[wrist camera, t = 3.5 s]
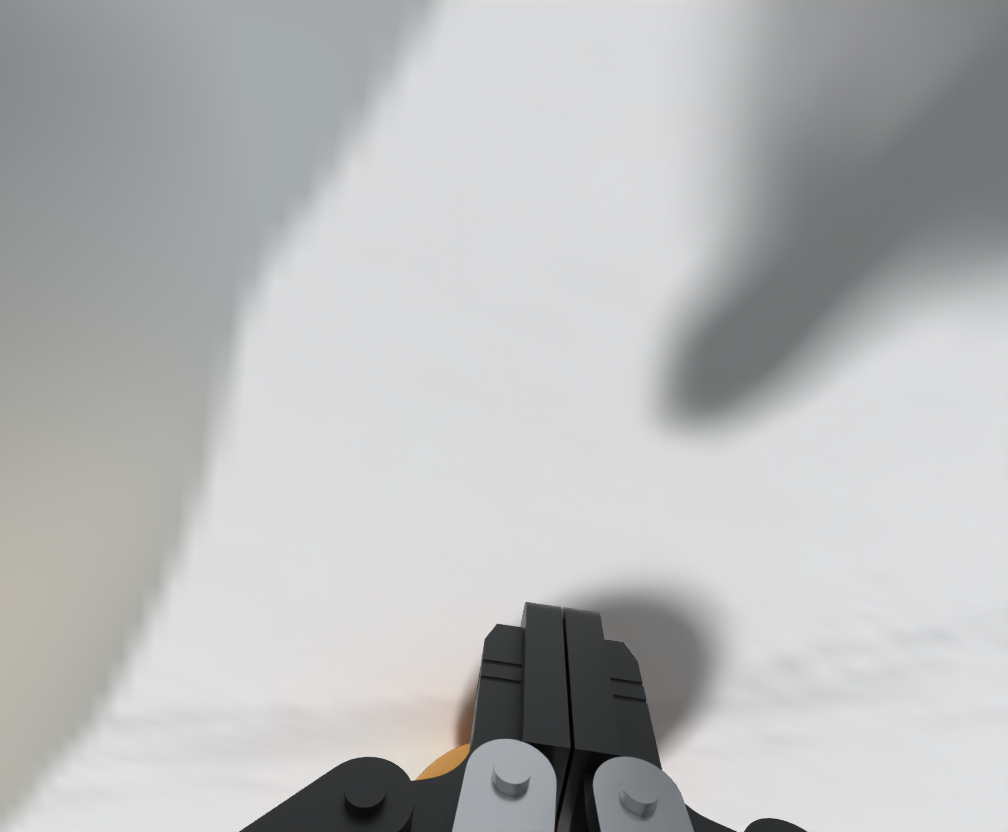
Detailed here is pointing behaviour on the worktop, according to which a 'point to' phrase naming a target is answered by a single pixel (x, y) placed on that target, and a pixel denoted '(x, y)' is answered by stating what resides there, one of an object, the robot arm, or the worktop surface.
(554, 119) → the worktop surface
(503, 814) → the robot arm
